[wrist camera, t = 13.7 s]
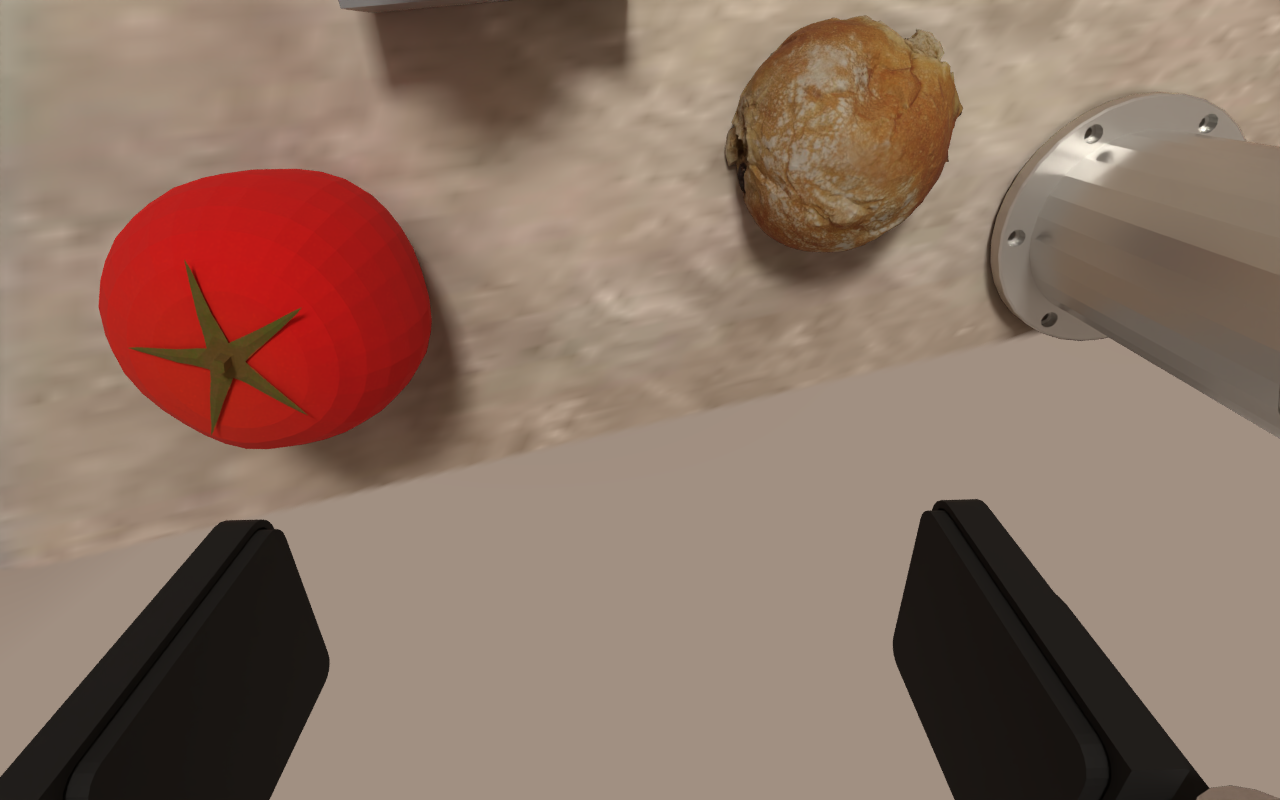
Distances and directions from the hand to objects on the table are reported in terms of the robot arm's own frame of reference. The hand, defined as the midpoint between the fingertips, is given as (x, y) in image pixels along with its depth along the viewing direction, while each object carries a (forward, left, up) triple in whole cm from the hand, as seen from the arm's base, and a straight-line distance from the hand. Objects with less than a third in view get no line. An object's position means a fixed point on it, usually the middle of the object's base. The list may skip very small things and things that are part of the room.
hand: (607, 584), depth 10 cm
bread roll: (-11, -2, -27) cm, 29 cm away
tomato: (+14, +2, -27) cm, 30 cm away
